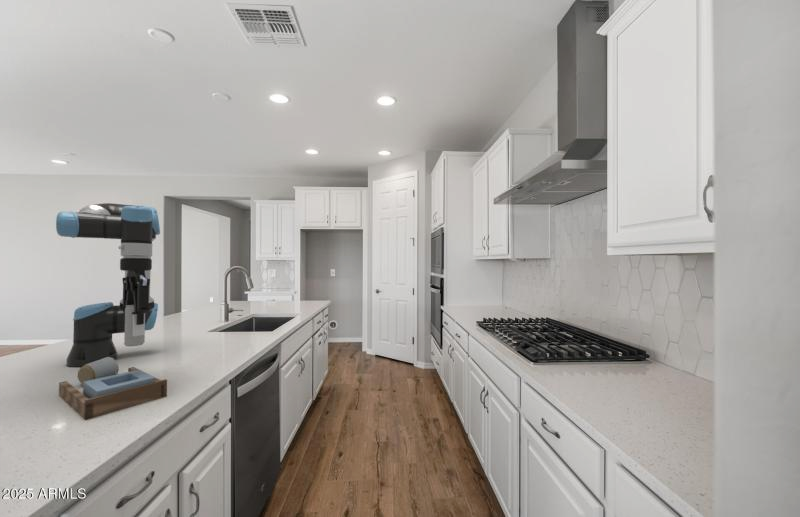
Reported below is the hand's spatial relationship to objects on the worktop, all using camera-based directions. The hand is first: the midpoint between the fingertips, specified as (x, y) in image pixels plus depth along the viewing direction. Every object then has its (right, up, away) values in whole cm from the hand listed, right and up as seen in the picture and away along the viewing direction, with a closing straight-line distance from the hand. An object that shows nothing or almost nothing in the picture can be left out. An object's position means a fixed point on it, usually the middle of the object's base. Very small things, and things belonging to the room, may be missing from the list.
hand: (134, 334), depth 100 cm
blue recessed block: (0, -18, -5) cm, 19 cm away
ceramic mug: (-20, -19, +12) cm, 31 cm away
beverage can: (0, -3, 0) cm, 3 cm away
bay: (-5, -19, -2) cm, 20 cm away
